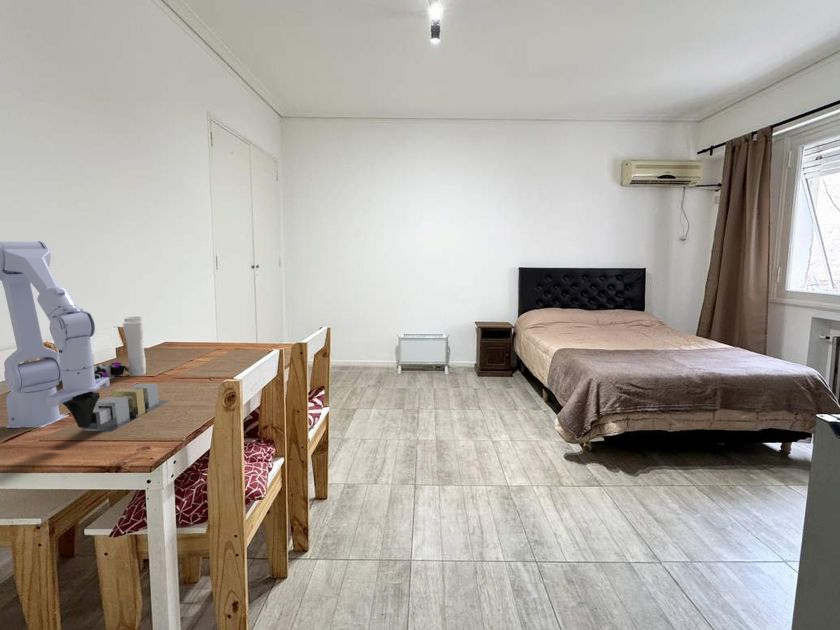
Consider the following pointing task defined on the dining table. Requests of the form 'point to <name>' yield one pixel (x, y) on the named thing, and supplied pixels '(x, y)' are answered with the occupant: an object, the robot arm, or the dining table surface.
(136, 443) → the dining table surface
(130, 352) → the white plastic bottle
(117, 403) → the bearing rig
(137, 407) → the spacer
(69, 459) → the dining table surface
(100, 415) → the shaft
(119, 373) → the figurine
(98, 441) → the dining table surface
